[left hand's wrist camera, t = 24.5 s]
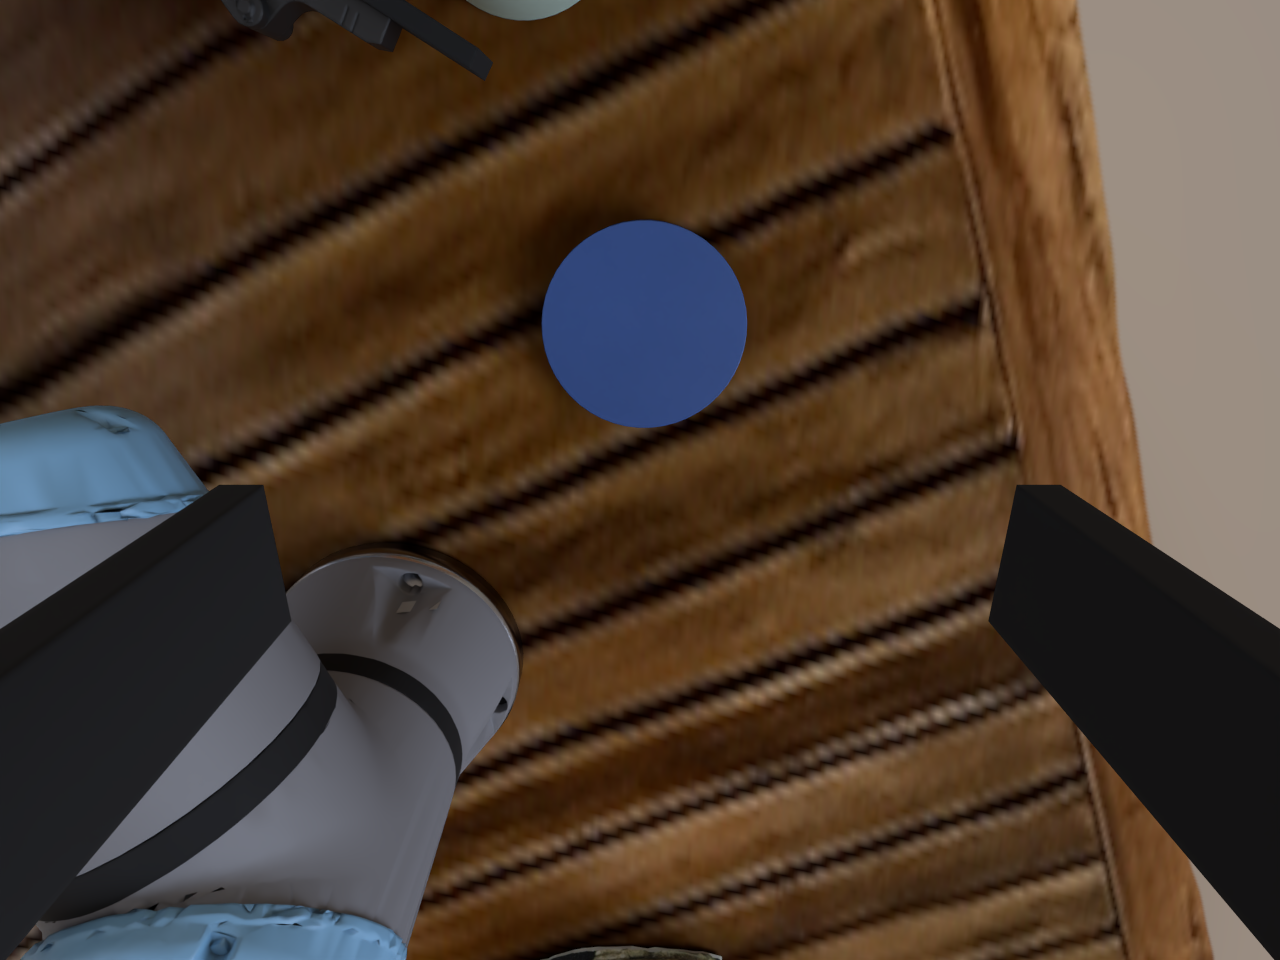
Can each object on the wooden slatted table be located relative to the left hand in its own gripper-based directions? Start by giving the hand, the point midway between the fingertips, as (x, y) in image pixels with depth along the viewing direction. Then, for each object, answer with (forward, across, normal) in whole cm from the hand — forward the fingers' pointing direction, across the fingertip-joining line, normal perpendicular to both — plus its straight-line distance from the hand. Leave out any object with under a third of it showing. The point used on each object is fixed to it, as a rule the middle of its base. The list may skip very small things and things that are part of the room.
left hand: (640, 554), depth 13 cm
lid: (+25, 0, 0) cm, 25 cm away
